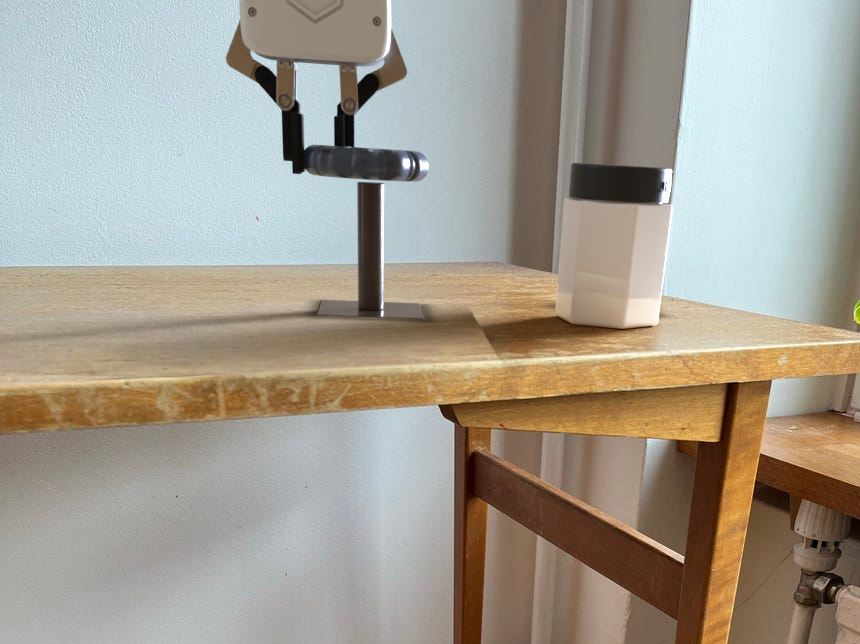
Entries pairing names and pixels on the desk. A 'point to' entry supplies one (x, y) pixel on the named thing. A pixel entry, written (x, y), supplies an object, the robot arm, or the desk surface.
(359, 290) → the post
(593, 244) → the jar
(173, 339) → the desk surface
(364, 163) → the ring
